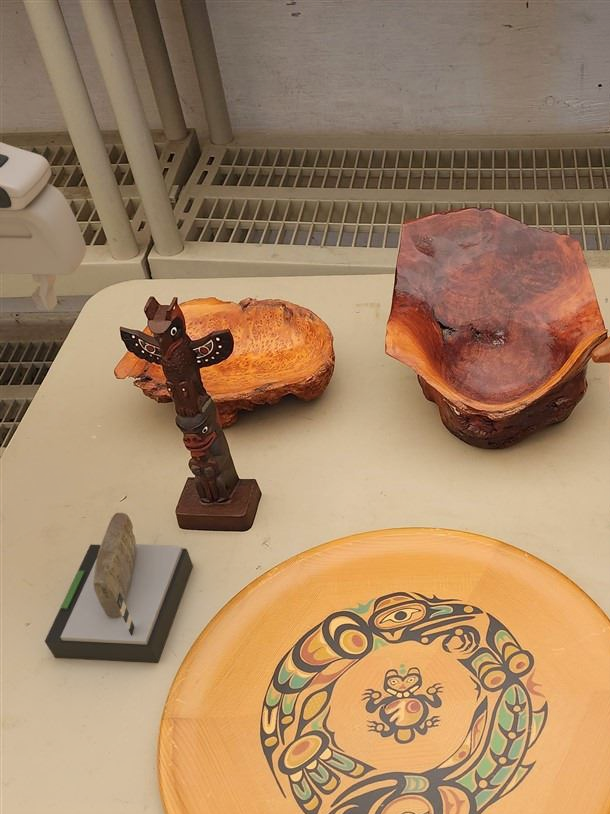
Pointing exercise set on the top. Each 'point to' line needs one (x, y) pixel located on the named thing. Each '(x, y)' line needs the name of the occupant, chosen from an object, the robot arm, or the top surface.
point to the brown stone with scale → (115, 567)
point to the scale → (145, 601)
